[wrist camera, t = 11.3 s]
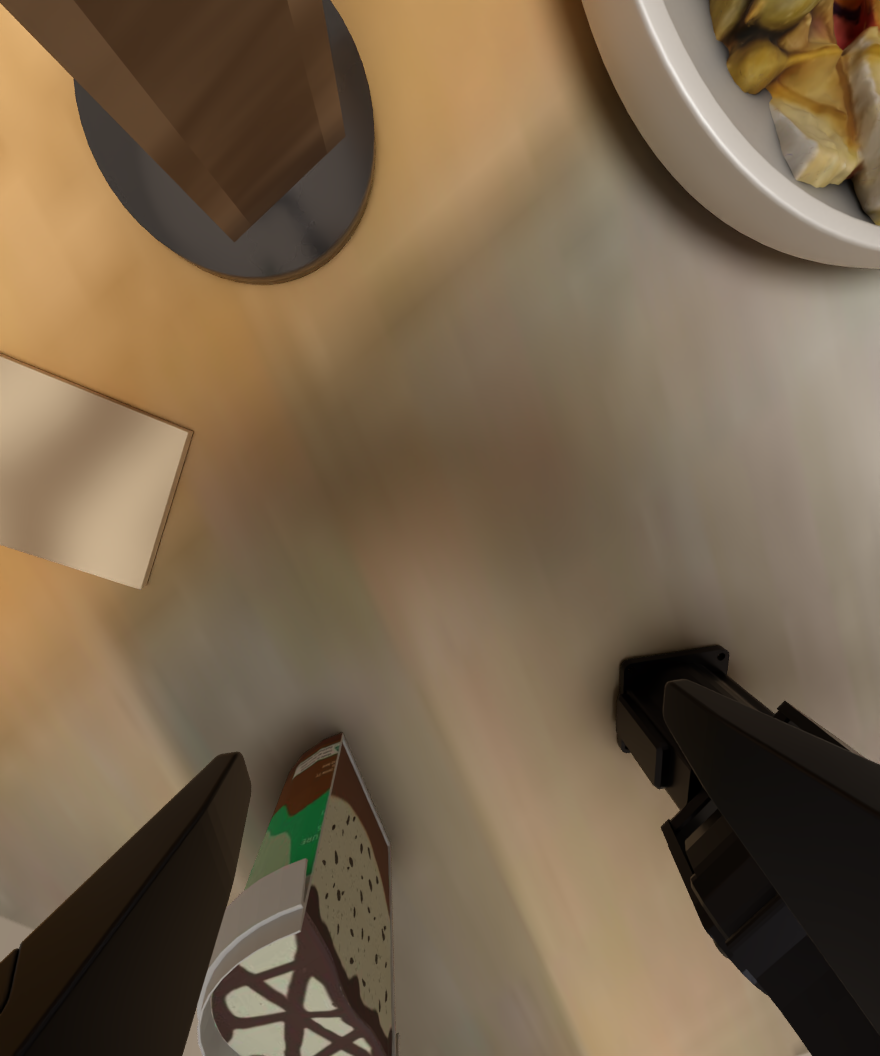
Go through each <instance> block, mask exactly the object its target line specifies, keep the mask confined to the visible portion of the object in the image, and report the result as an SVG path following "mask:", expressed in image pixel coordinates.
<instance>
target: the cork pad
mask: <svg viewBox="0 0 880 1056" xmlns="http://www.w3.org/2000/svg"><path fill="white" fill-rule="evenodd" d="M192 434H193V431H190V430H188V429H185V428H183V427H181V426H178V425H176V424H173V423H171V422H168V421H166V420H163V419H161V418H158V417H156V416H153V415H151V414H149V413H146V412H144V411H141V410H139V409H136V408H134V407H131V406H129V405H126V404H124V403H121V402H119V401H117V400H114V399H112V398H109V397H107V396H104V395H102V394H99V393H97V392H94V391H92V390H89V389H87V388H84V387H82V386H80V385H77V384H75V383H72V382H70V381H67V380H65V379H62V378H60V377H57V376H55V375H52V374H50V373H48V372H45V371H43V370H40V369H38V368H35V367H33V366H30V365H28V364H25V363H23V362H20V361H18V360H15V359H13V358H11V357H8V356H6V355H3V354H1V353H0V545H2V546H5V547H9V548H12V549H15V550H18V551H21V552H24V553H27V554H30V555H34V556H37V557H40V558H43V559H46V560H49V561H52V562H55V563H59V564H62V565H65V566H68V567H71V568H74V569H77V570H80V571H84V572H87V573H90V574H93V575H96V576H99V577H102V578H106V579H109V580H112V581H115V582H118V583H121V584H124V585H127V586H131V587H134V588H137V589H140V590H141V589H142V588H144V587H145V586H146V585H147V582H148V579H149V576H150V572H151V569H152V566H153V562H154V559H155V556H156V553H157V549H158V546H159V543H160V539H161V536H162V533H163V530H164V526H165V523H166V520H167V516H168V513H169V510H170V507H171V503H172V500H173V497H174V493H175V490H176V487H177V484H178V480H179V477H180V474H181V470H182V467H183V464H184V461H185V457H186V454H187V451H188V448H189V444H190V441H191V438H192Z"/></svg>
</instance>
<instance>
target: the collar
mask: <svg viewBox="0 0 880 1056" xmlns="http://www.w3.org/2000/svg"><path fill="white" fill-rule="evenodd" d="M0 3H1V4H2V5H3V6H4V7H5V8H6V9H7V10H8V11H9V12H10V13H11V14H12V15H13V16H14V17H15V18H16V19H17V21H18V22H19V23H20V24H21V25H22V26H23V27H24V28H25V29H26V30H27V31H28V32H29V33H30V34H31V35H32V36H33V37H34V38H35V39H36V40H37V41H38V42H39V43H40V44H41V45H42V46H43V47H44V48H45V49H46V50H47V51H48V52H49V53H50V54H51V55H52V56H53V57H54V58H55V59H56V60H57V61H58V62H59V64H60V65H61V66H62V67H63V68H64V69H65V70H66V71H67V72H68V73H69V74H70V75H71V76H72V77H73V78H74V79H75V80H76V81H77V82H78V83H79V84H80V85H81V86H82V87H83V88H84V89H85V90H86V91H87V92H88V93H89V94H90V95H91V96H92V97H93V98H94V99H95V100H96V101H97V102H98V103H99V104H100V105H101V107H102V108H103V109H104V110H105V111H106V112H107V113H108V114H109V115H110V116H111V117H112V118H113V119H114V120H115V121H116V122H117V123H118V124H119V125H120V126H121V127H122V128H123V129H124V130H125V131H126V132H127V133H128V134H129V135H130V136H131V137H132V138H133V139H134V140H135V141H136V142H137V143H138V144H139V145H140V146H141V147H142V149H143V150H144V151H145V152H146V153H147V154H148V155H149V156H150V157H151V158H152V159H153V160H154V161H155V162H156V163H157V164H158V165H159V166H160V167H161V168H162V169H163V170H164V171H165V172H166V173H167V174H168V175H169V176H170V177H171V178H172V179H173V180H174V181H175V182H176V183H177V184H178V185H179V186H180V187H181V188H182V189H183V190H184V192H185V193H186V194H187V195H188V196H189V197H190V198H191V199H192V200H193V201H194V202H195V203H196V204H197V205H198V206H199V207H200V208H201V209H202V210H203V211H204V212H205V213H206V214H207V215H208V216H209V217H210V218H211V219H212V220H213V221H214V222H215V223H216V224H217V225H218V226H219V227H220V228H221V229H222V230H223V231H224V232H225V233H226V235H227V236H228V237H229V238H230V239H231V240H232V241H233V242H236V241H237V240H238V239H239V238H240V237H241V236H242V235H243V234H244V233H245V232H246V231H247V230H248V229H249V228H250V227H251V226H252V225H253V224H254V223H255V222H256V221H258V220H259V219H260V218H261V217H262V216H263V215H264V214H265V213H266V212H267V211H268V210H269V209H270V208H271V207H272V206H273V205H274V204H275V203H276V202H277V201H278V200H280V199H281V198H282V197H283V196H284V195H285V194H286V193H287V192H288V191H289V190H290V189H291V188H292V187H293V186H294V185H295V184H296V183H297V182H298V181H299V180H300V179H302V178H303V177H304V176H305V175H306V174H307V173H308V172H309V171H310V170H311V169H312V168H313V167H314V166H315V165H316V164H317V163H318V162H319V161H320V160H321V159H322V158H324V157H325V156H326V155H327V154H328V153H329V152H330V151H331V150H332V149H333V148H334V147H335V146H336V145H337V144H338V143H339V142H340V141H341V140H342V139H343V138H344V137H345V136H346V135H345V130H344V124H343V118H342V112H341V107H340V101H339V95H338V89H337V84H336V78H335V72H334V67H333V61H332V55H331V49H330V44H329V38H328V32H327V26H326V21H325V15H324V9H323V3H322V0H0Z"/></svg>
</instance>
